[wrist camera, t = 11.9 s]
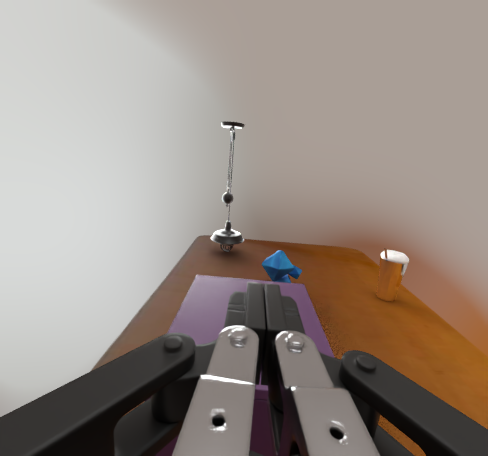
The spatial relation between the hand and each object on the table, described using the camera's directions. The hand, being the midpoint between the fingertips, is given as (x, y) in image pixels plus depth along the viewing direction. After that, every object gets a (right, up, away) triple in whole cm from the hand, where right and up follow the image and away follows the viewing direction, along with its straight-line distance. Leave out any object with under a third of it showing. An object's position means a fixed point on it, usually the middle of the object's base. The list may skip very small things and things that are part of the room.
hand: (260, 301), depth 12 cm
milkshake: (+26, -10, +37) cm, 46 cm away
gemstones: (+6, -9, +36) cm, 37 cm away
